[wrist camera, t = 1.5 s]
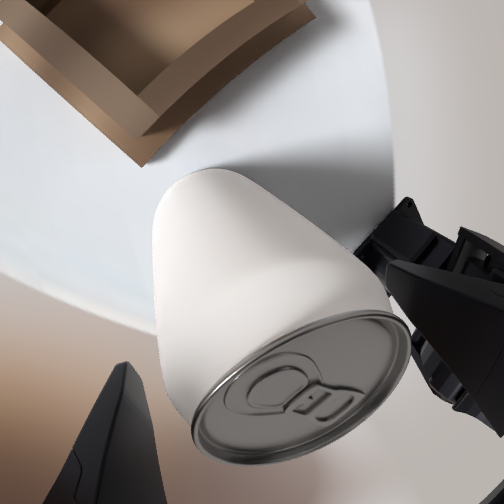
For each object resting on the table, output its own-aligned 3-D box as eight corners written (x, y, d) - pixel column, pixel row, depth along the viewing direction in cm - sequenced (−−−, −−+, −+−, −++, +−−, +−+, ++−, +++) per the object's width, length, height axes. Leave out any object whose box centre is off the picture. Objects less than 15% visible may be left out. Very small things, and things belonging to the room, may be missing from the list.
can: (205, 141, 14) (349, 217, 4) (288, 214, 17) (445, 348, 7) (129, 238, 15) (116, 453, 5) (218, 294, 18) (297, 474, 8)
